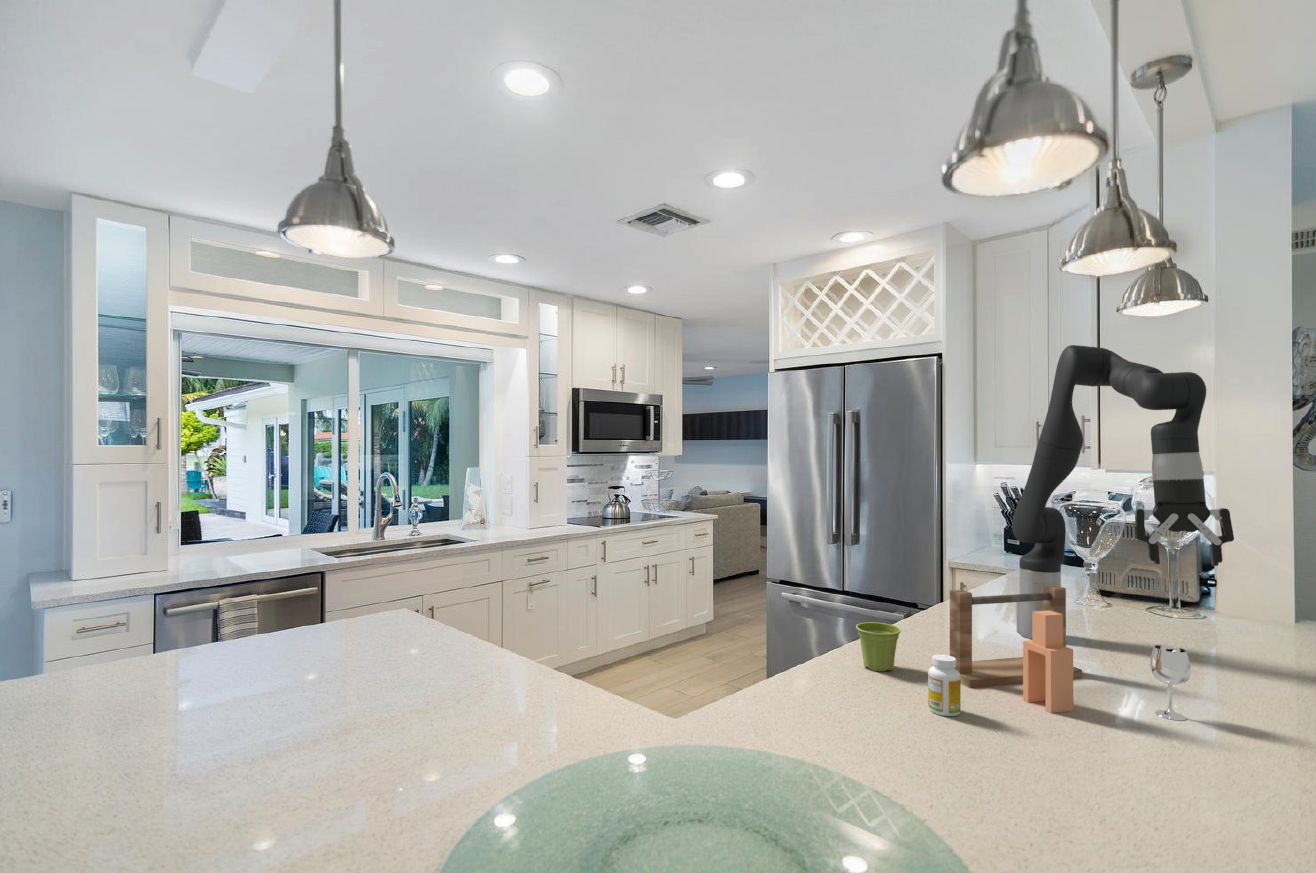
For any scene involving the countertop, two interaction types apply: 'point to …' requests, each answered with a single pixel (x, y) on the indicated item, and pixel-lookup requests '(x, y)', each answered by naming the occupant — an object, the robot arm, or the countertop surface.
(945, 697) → the supplement bottle
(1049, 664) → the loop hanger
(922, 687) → the countertop surface
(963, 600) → the hook stand
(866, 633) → the plant pot
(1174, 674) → the wineglass
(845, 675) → the countertop surface
